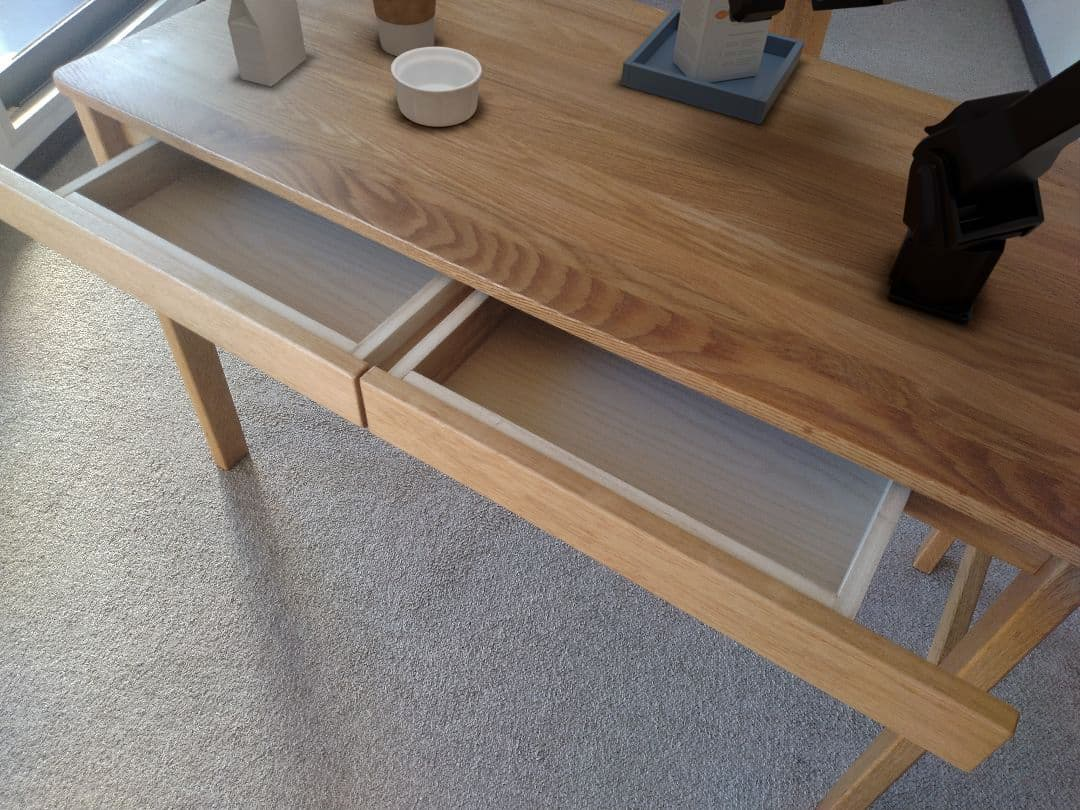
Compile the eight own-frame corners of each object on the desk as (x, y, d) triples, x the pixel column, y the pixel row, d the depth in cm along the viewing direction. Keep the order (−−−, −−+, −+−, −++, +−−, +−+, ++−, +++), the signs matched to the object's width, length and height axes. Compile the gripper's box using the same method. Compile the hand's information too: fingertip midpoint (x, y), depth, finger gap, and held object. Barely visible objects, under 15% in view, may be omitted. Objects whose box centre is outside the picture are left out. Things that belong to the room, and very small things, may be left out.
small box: (734, 53, 95) (756, -45, 87) (758, 77, 92) (783, -23, 84) (670, 62, 93) (687, -38, 85) (692, 86, 90) (712, -16, 82)
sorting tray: (798, 62, 95) (805, 41, 94) (760, 124, 86) (766, 102, 84) (670, 29, 100) (674, 8, 98) (620, 85, 90) (623, 62, 88)
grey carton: (306, 58, 91) (290, -39, 83) (271, 86, 86) (250, -14, 79) (277, 51, 91) (258, -46, 84) (240, 78, 87) (217, -22, 80)
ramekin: (489, 91, 88) (489, 51, 85) (472, 136, 82) (471, 94, 79) (406, 81, 88) (403, 41, 85) (384, 125, 82) (379, 83, 79)
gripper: (960, -186, 67) (838, -84, 82) (759, -174, 62) (668, -68, 77) (983, -44, 68) (859, 31, 83) (787, -21, 63) (692, 55, 78)
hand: (772, 10), depth 80 cm, fingers open, 9 cm apart
